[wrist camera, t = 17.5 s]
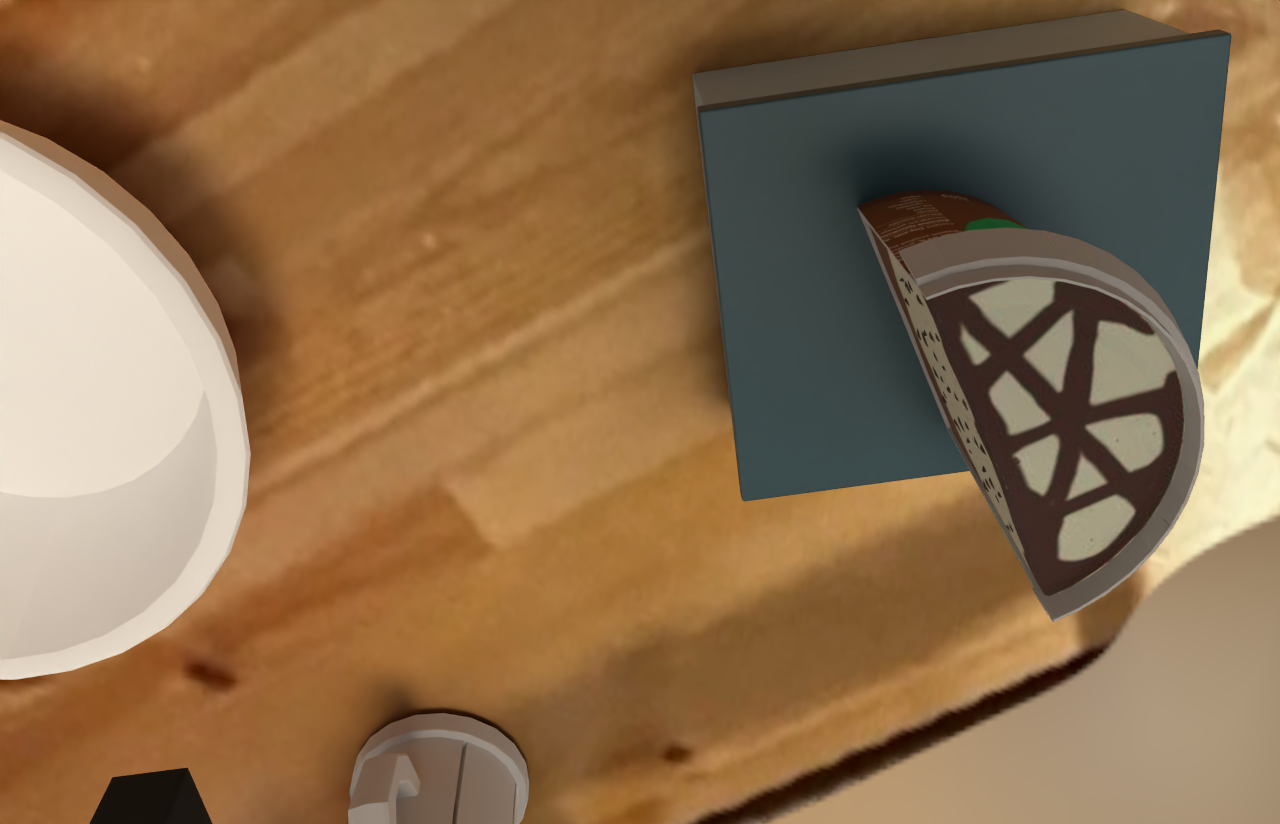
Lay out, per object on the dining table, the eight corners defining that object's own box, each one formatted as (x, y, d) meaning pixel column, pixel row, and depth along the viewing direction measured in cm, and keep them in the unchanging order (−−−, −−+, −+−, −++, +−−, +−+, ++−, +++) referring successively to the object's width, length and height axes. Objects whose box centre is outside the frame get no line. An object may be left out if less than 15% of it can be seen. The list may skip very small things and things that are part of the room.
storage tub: (1134, -1, 42) (1232, 32, 35) (1112, 358, 48) (1191, 441, 42) (682, 66, 42) (698, 111, 36) (723, 412, 49) (742, 502, 43)
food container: (1123, 394, 41) (1268, 555, 32) (960, 462, 42) (1058, 636, 33) (1023, 80, 36) (1165, 169, 27) (840, 166, 37) (918, 279, 28)
